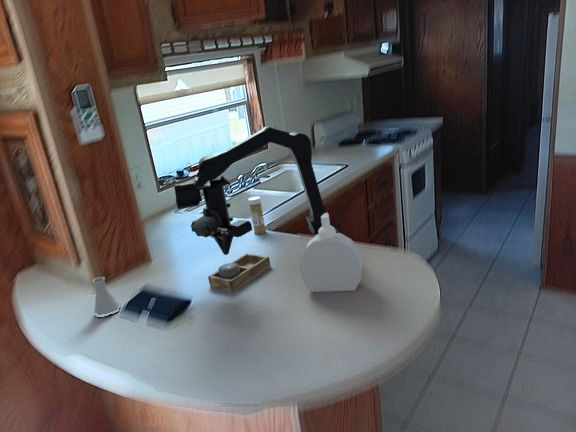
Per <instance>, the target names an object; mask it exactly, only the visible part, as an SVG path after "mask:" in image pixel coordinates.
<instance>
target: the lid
mask: <svg viewBox="0 0 576 432" xmlns="http://www.w3.org/2000/svg"><path fill="white" fill-rule="evenodd" d="M218 270H219V275H220V278H225V279H230V280H231V279H233V278H234V277H236V276H237V275H239V274H240V268H239V264H237V263H232V262H229V263H226V264H225V263H224V264H222V265H221V266H219V267H218V269H217V271H218Z"/></svg>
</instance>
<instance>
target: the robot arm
mask: <svg viewBox="0 0 576 432" xmlns="http://www.w3.org/2000/svg"><path fill="white" fill-rule="evenodd" d="M270 143H272V144H275V145H278V146H282V147H285V148H287V149H288V151H289V154H290V156H291V158H292V159H293V161H294V163H295V164H296V167H297V169H298V172H299V177H300V180H301V184H302V186H303V190H304V193H305V197H306V201H307V204H308V207H309V215H307V216H305V219H306V221H307V223H308V230H310V232H311V234H312V235H313V236H316V235H318V230H319V229H320V228H321V227H322V222H321V216H322V215H323V214H324V213H328V212H327V211H326V209H325V205H324V203H323V199H322V195H321V191H320V189H319V185H318V180H317V177H316V174H315V171H314V168H313V163H312V160H313V159H312V157H313V152H312V141H311V139H310V137H309V136H308V135H306V134H305V133H302V132H300V131H298V130H295V131H291V132H287V131H284V130H280V129H276V128H274V127H272V126H269V125H268V126H267V125H266V126H263V128H262V129H259V131H256V132H255V133H253V134H252V135H250V136H247V137H246V138H244V139H243V140H241V141H239V142H237V143H236V144H233V145H232V146H231V147H228V148H227V149H224V150H221V151H217V152H214V153H211V154H208V155H206V156H203V157H202V158H200V160H199V161H198V164H197V169H198V172H197V173H196V176H195V177H194V179H193V181H192V182H185V183H176V184H174V185H173V187H174V193H175V203H176V206H177V210H184V209H189V208H194V207H199V206H200V204H201V203H202V202H203V199H204V204H205V207H203V208H202V213H203V214H202V216H200V217H199V218H197V219H195V220H193V221H192V222H191V225H190V228H191V232H193V233H195V235H196V237H204V238H209V237H210V238H213V239H214V241H215V242H216V244H217V246H218V247H219V248H220V251H221V252H222V254H223V255H225V256H228V255H229V253H230V249H231V246H232V242H233V239H234V238H239V237H240V238H241V237H243V236H244V235H246V234H248V233H250V232H251V231H253V223H252V222H251V221H249V220H244V219H243V220H241V219H239V220H238V219H237V220H236V221H235V222H233V221H234V218H233V216H230V213H229V208H230V207H231V203H230V202H227V197H226V193H225V189H224V186H227V185H230V184H231V182H230V180H229V179H227V178H226V177H225V176H224V175H223V174H224V173H225V172H226V171H227V170H228V169H229V167H231V166H232V165H234V164H235V163H237V162H238V161H240V160H241V159H243V158H245V157H246V156H248V155H251V154H252V153H254V152H255V151H257V150H258V149H261V148H262V147H264V146H266V145H268V144H270ZM208 182H209V183H208ZM201 190H202V193H201ZM202 194H203V198H202ZM329 221H330V225H331V226H333V227H334V228H335V226H334V223H333V222H332V219H331V218H330V217H329ZM335 231H336V233H340V232H339V231H338V229H336V228H335Z"/></svg>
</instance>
